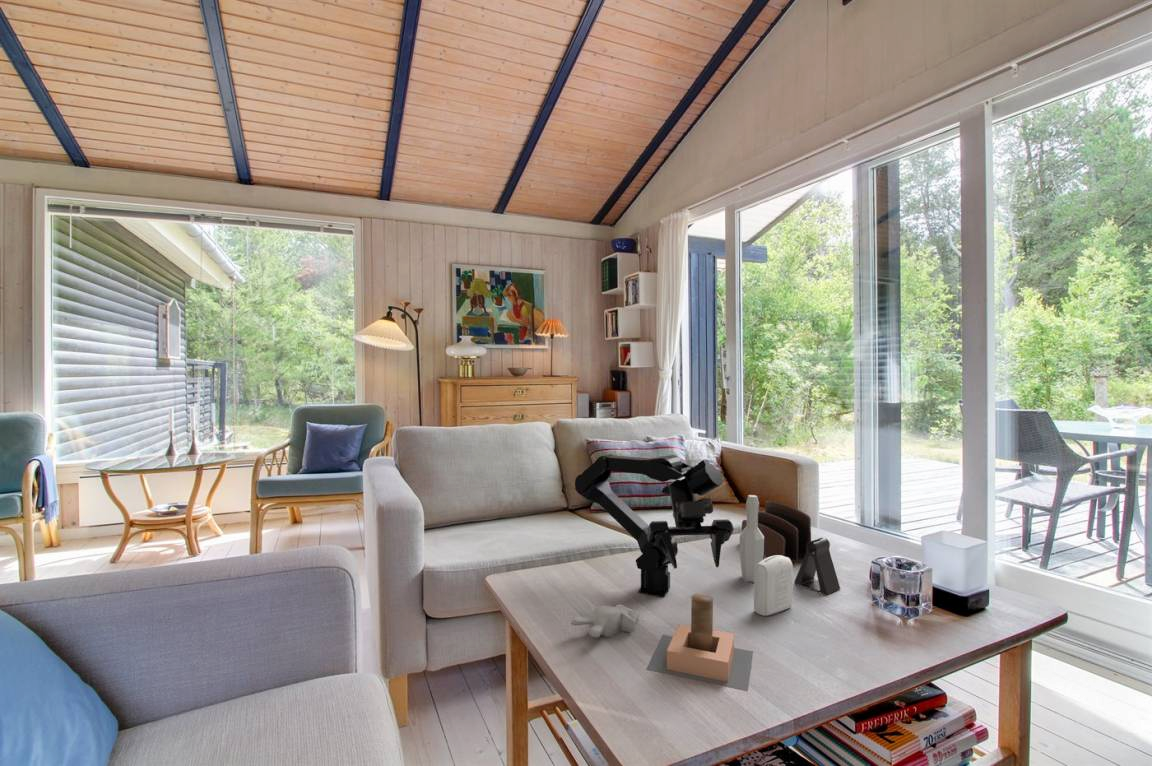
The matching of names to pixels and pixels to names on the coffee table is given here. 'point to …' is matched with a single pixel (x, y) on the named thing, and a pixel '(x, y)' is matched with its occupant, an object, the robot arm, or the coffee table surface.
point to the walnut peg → (701, 622)
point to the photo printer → (773, 585)
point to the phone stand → (818, 568)
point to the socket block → (701, 655)
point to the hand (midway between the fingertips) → (696, 567)
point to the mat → (736, 677)
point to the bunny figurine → (609, 620)
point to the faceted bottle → (751, 541)
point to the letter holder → (784, 531)
